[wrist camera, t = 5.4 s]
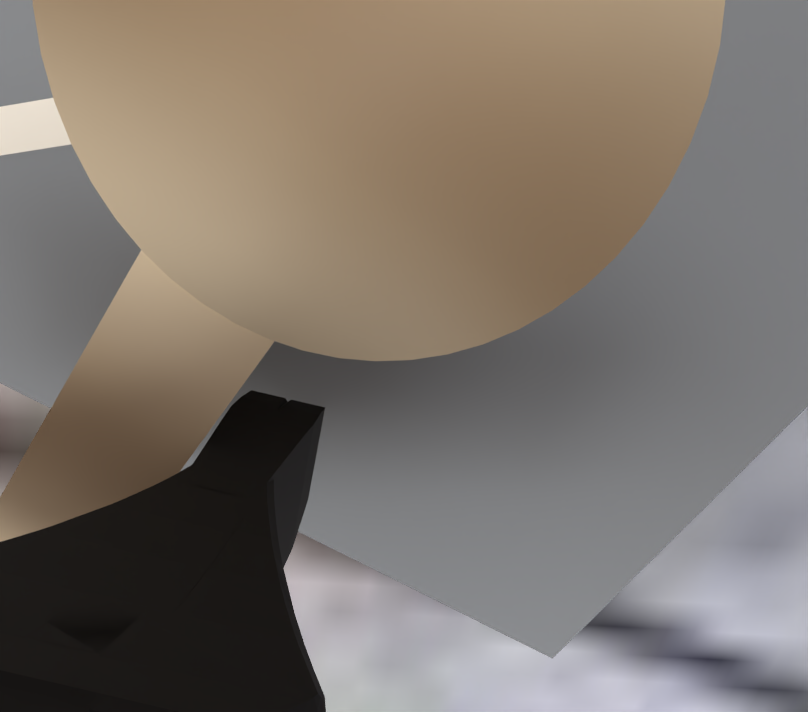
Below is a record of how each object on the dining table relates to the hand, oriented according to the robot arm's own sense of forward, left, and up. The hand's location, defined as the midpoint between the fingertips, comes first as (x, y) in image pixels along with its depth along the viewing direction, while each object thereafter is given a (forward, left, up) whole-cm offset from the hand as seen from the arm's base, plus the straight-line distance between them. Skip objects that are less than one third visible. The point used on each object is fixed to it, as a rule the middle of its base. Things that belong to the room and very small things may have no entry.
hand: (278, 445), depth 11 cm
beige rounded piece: (-3, -2, -1) cm, 4 cm away
